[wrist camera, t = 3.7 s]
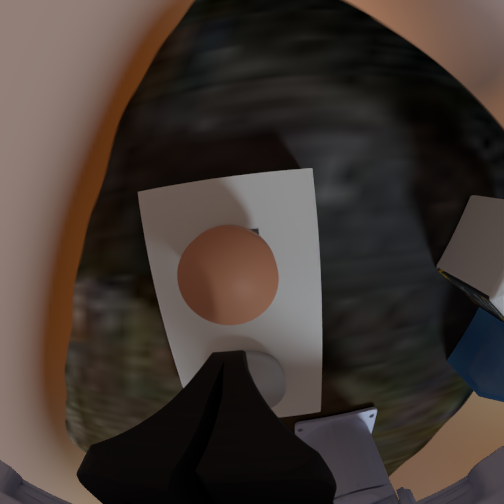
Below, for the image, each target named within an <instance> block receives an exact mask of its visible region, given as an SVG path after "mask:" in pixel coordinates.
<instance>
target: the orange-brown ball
mask: <svg viewBox="0 0 504 504" xmlns="http://www.w3.org/2000/svg"><path fill="white" fill-rule="evenodd" d="M177 281H178V286H179V290H180V293H181V295H182V297H183V299H184V301H185V302H186V303H187V305H188V306H189V307H190V308H191V309H192V310H193V311H194V312H195V313H196V314H197V315H199V316H200V317H202V318H203V319H205V320H208V321H210V322H213V323H216V324H221V325H238V324H243V323H246V322H249V321H251V320H253V319H255V318H257V317H258V316H260V315H261V314H262V313H263V312H264V311H266V310H267V308H268V307H269V306H270V305H271V303H272V301H273V300H274V298H275V295H276V293H277V289H278V282H279V274H278V268H277V264H276V261H275V258H274V255H273V252H272V250H271V248H270V247H269V245H268V244H267V243H266V241H265V240H264V239H263V238H262V237H261V236H259V235H258V234H257V233H255V232H254V231H252V230H250V229H248V228H245V227H242V226H237V225H220V226H216V227H213V228H210V229H208V230H206V231H204V232H203V233H201V234H200V235H199V236H198V237H196V238H195V239H194V240H193V241H192V242H191V243H190V244H189V245H188V247H187V248H186V249H185V251H184V252H183V254H182V256H181V258H180V261H179V264H178V270H177Z"/></svg>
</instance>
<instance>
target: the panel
mask: <svg viewBox="0 0 504 504" xmlns="http://www.w3.org/2000/svg"><path fill="white" fill-rule="evenodd" d="M138 199H139V206H140V212H141V219H142V225H143V231H144V237H145V242H146V247H147V253H148V258H149V263H150V268H151V272H152V277H153V281H154V286H155V290H156V295H157V299H158V303H159V307H160V311H161V315H162V319H163V322H164V326H165V330H166V334H167V337H168V341H169V344H170V348H171V351H172V354H173V358H174V361H175V364H176V367H177V370H178V374H179V377H180V380H181V383H182V386H183V388H184V387H185V386H186V385H187V384H188V383H189V382H190V380H191V379H192V378H193V377H194V376H195V374H196V373H197V372H198V371H199V369H200V368H201V367H202V365H203V364H204V363H205V361H206V360H207V359H208V357H209V356H210V355H211V354H212V353H213V352H224V351H236V350H243V351H258V352H262V353H265V354H268V355H270V356H272V357H273V358H275V359H276V360H277V361H278V362H279V363H280V365H281V366H282V368H283V371H284V376H285V383H286V392H285V395H284V397H283V398H282V400H281V401H280V402H279V403H278V404H277V405H276V406H274V407H272V408H271V409H272V411H273V412H274V413H275V414H276V415H277V417H278V418H279V417H288V416H296V415H303V414H310V413H316V412H321V390H322V298H321V272H320V254H319V238H318V224H317V212H316V201H315V190H314V180H313V171H312V168H307V169H295V170H283V171H273V172H263V173H254V174H246V175H238V176H230V177H222V178H215V179H208V180H202V181H195V182H189V183H183V184H177V185H171V186H166V187H160V188H155V189H150V190H145V191H140V192H138ZM220 225H237V226H242V227H245V228H248V229H250V230H252V231H254V232H255V233H257V234H258V235H259V236H261V237H262V238H263V239H264V240H265V241H266V243H267V244H268V245H269V247H270V248H271V250H272V252H273V255H274V258H275V261H276V264H277V268H278V274H279V282H278V289H277V293H276V295H275V298H274V300H273V301H272V303H271V305H270V306H269V307H268V308H267V310H266V311H264V312H263V313H262V314H261V315H260V316H258V317H257V318H255V319H253V320H251V321H249V322H246V323H243V324H238V325H221V324H216V323H213V322H210V321H208V320H205V319H203V318H202V317H200V316H199V315H197V314H196V313H195V312H194V311H193V310H192V309H191V308H190V307H189V306H188V305H187V303H186V302H185V301H184V299H183V297H182V295H181V293H180V290H179V286H178V281H177V270H178V264H179V261H180V258H181V256H182V254H183V252H184V251H185V249H186V248H187V247H188V245H189V244H190V243H191V242H192V241H193V240H194V239H195V238H196V237H198V236H199V235H200V234H201V233H203V232H204V231H206V230H208V229H210V228H213V227H216V226H220Z"/></svg>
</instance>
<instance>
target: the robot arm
mask: <svg viewBox="0 0 504 504" xmlns="http://www.w3.org/2000/svg"><path fill="white" fill-rule="evenodd" d="M376 414H377V409H376V407H370V408H366V409H362V410H358V411H353V412H349V413H344V414H340V415H335V416H329V417H324V418H318V419H312V420H306V421H299V422H297V423H296V424H295V434H294V433H293V432H292V431H291V430H290V429H289V428H288V427H287V426H286V425H285V424H284V423H283V422H282V421H281V420H280V419H279V418H278V417H277V415H276V414H275V413H274V412H273V411H272V409H271V408H270V407H269V405H268V404H267V403H266V401H265V400H264V398H263V397H262V395H261V393H260V392H259V390H258V388H257V386H256V385H255V383H254V381H253V378H252V376H251V374H250V371H249V368H248V362H247V356H246V352H245V351H243V350H236V351H224V352H213V353H212V354H211V355H210V356H209V357H208V359H207V360H206V361H205V363H204V364H203V365H202V367H201V368H200V369H199V371H198V372H197V373H196V374H195V376H194V377H193V378H192V379H191V380H190V382H189V383H188V384H187V385H186V386H185V387H184V388H183V389H182V390H181V391H180V392H179V393H178V394H177V395H176V396H175V397H174V398H173V399H172V400H171V401H170V402H169V403H168V404H167V405H165V406H164V407H163V408H162V409H161V410H159V411H158V412H157V413H155V414H154V415H152V416H151V417H149V418H148V419H146V420H145V421H143V422H142V423H140V424H139V425H137V426H135V427H133V428H131V429H130V430H128V431H126V432H124V433H122V434H119V435H117V436H115V437H113V438H110V439H107V440H105V441H102V442H99V443H97V444H93V445H91V446H90V448H89V450H88V452H87V453H86V455H85V457H84V459H83V461H82V463H81V465H80V468H79V469H78V471H77V477H78V479H79V481H80V483H81V484H82V485H83V486H84V487H85V488H86V489H87V490H88V491H89V492H90V493H92V494H93V495H94V496H95V497H96V498H97V499H98V500H99V501H100V502H101V503H103V504H504V446H502V447H501V448H499V449H497V450H496V451H494V452H493V453H492V454H490V455H489V456H487V457H486V458H484V459H483V460H481V461H480V462H479V463H478V464H476V465H475V466H474V467H473V468H472V469H471V471H470V472H469V473H468V475H467V476H466V477H464V478H463V479H461V480H459V481H457V482H456V483H454V484H452V485H450V486H448V487H447V488H445V489H442V490H441V491H439V492H437V493H434V494H432V495H430V496H428V497H426V498H424V499H422V500H419V501H417V502H416V501H415V499H414V496H413V494H412V492H411V490H409V489H404V488H403V487H402V488H400V489H398V490H397V494H398V497H399V500H398V497H397V495H396V492H395V490H394V488H393V487H392V484H391V483H390V480H389V478H388V475H387V472H386V470H385V467H384V465H383V462H382V460H381V457H380V455H379V452H378V450H377V447H376V445H375V443H374V440H373V438H372V435H371V433H372V430H373V426H374V422H375V418H376ZM399 501H400V502H399ZM0 504H71V503H69V502H67V501H65V500H62V499H60V498H58V497H56V496H53V495H52V494H50V493H47V492H45V491H44V490H42V489H40V488H37V487H36V486H34V485H32V484H30V483H28V482H27V481H25V480H23V479H22V477H21V476H20V475H19V474H18V473H17V472H16V471H14V469H12V468H11V467H10V466H8V465H7V464H5V463H4V462H2V461H1V460H0Z"/></svg>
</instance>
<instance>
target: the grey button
mask: <svg viewBox="0 0 504 504" xmlns="http://www.w3.org/2000/svg"><path fill="white" fill-rule="evenodd" d="M245 352H246V356H247V362H248V368H249V371H250V374H251V376H252V378H253V381H254V383H255V385H256V386H257V388H258V390H259V392H260V393H261V395H262V397H263V398H264V400H265V401H266V403H267V404H268V405H269V407H270V408H272V407H274V406H276V405H277V404H278V403H279V402H280V401H281V400H282V398H283V397H284V395H285V392H286V383H285V376H284V371H283V368H282V366H281V365H280V363H279V362H278V361H277V360H276V359H275V358H273V357H272V356H270V355H268V354H265V353H262V352H258V351H245Z"/></svg>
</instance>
